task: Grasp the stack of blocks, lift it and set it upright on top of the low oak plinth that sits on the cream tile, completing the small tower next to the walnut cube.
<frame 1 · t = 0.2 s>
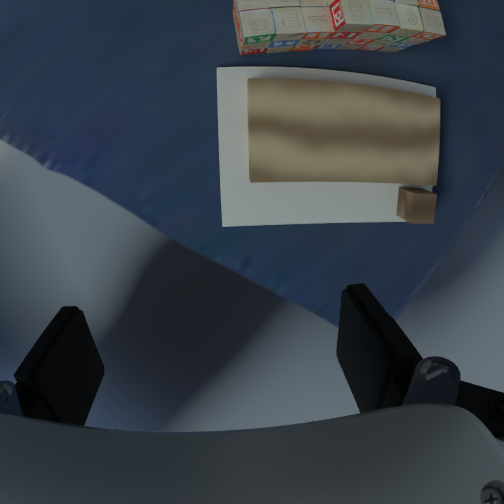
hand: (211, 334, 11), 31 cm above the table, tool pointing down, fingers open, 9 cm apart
cream tile: (338, 146, 38), on the table
stack of blocks: (319, 29, 33), on the table
oak plinth: (347, 132, 37), resting on cream tile
walnut cube: (409, 201, 41), point 1 cm above the table, touching cream tile
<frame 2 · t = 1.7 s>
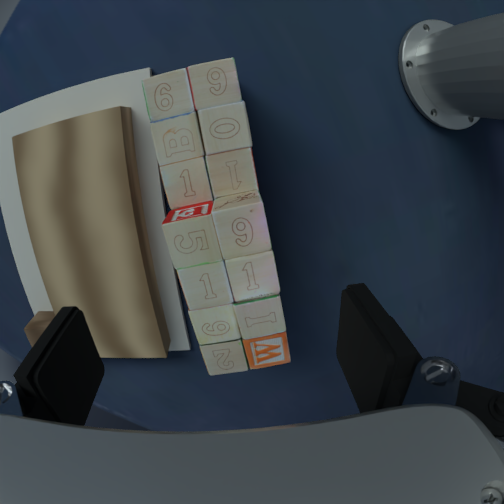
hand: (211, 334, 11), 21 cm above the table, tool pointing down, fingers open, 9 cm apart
cream tile: (79, 232, 30), on the table
stack of blocks: (223, 193, 30), on the table
oak plinth: (94, 242, 30), resting on cream tile
walnut cube: (55, 324, 33), point 1 cm above the table, touching cream tile
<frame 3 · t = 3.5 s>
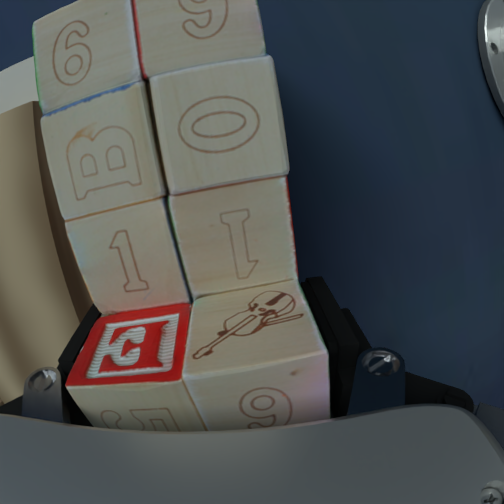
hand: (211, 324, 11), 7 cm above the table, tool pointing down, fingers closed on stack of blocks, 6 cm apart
cream tile: (13, 292, 18), on the table
stack of blocks: (214, 238, 18), on the table, touching gripper
oak plinth: (31, 309, 18), resting on cream tile
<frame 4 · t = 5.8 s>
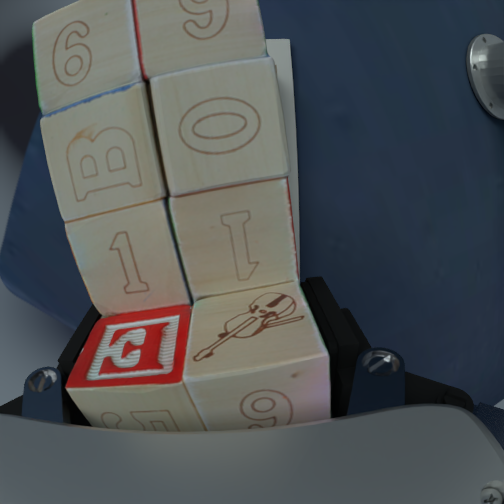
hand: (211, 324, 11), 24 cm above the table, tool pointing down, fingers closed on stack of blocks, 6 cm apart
cream tile: (201, 185, 33), on the table
stack of blocks: (214, 239, 18), point 16 cm above the table, touching gripper
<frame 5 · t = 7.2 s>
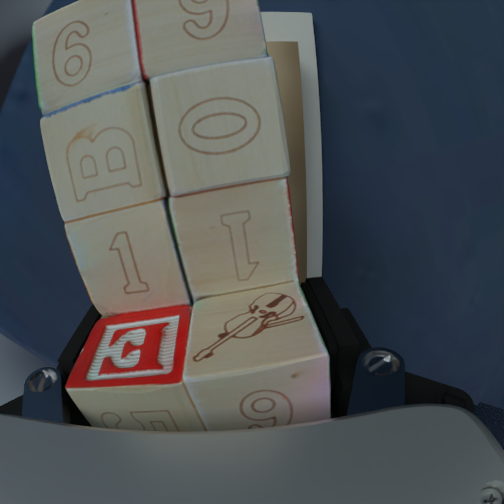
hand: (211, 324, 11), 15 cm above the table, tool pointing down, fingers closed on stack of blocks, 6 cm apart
cream tile: (196, 201, 25), on the table
stack of blocks: (214, 239, 18), point 8 cm above the table, touching gripper
oak plinth: (222, 213, 25), resting on cream tile
when the fingers open (12 cm above the table, at t = 8.3 s): stack of blocks drops 1 cm, resting on oak plinth.
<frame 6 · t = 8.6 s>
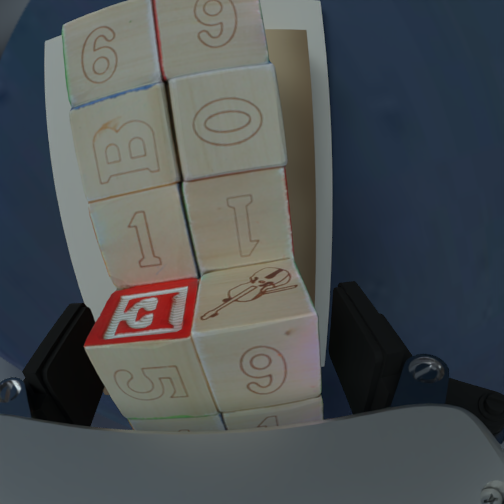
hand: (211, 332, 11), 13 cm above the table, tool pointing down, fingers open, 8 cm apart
cream tile: (190, 212, 22), on the table
stack of blocks: (218, 229, 19), point 4 cm above the table, touching oak plinth
oak plinth: (219, 226, 22), resting on cream tile
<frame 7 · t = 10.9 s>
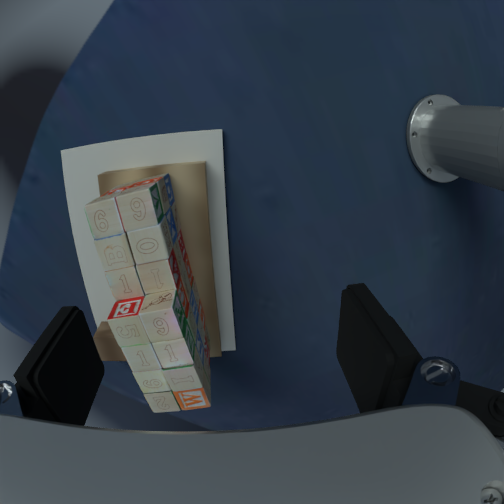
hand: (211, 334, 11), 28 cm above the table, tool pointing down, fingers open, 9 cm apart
cream tile: (150, 256, 39), on the table
stack of blocks: (165, 267, 36), point 4 cm above the table, touching oak plinth
oak plinth: (165, 265, 39), resting on cream tile
walnut cube: (117, 332, 42), point 1 cm above the table, touching cream tile
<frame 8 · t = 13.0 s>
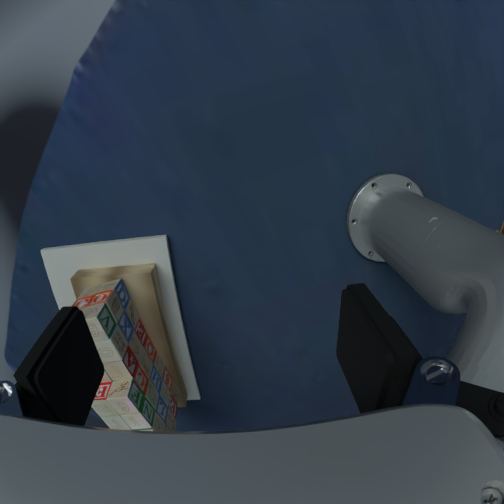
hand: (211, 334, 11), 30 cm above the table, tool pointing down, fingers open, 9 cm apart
cream tile: (123, 332, 46), on the table
stack of blocks: (134, 344, 43), point 4 cm above the table, touching oak plinth
oak plinth: (135, 340, 46), resting on cream tile
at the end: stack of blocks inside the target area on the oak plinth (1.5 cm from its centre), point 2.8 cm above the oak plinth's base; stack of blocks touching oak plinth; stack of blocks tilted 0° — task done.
